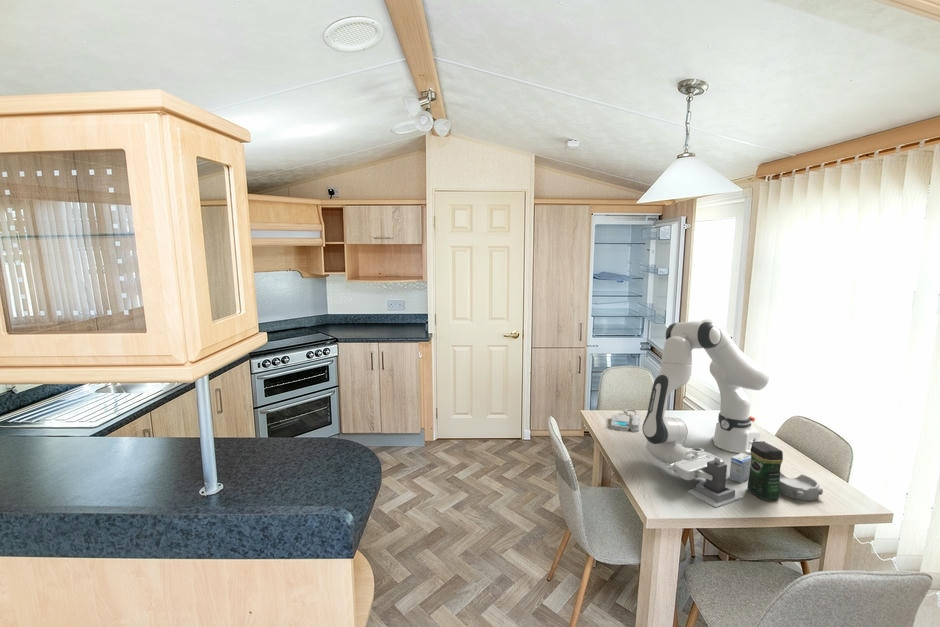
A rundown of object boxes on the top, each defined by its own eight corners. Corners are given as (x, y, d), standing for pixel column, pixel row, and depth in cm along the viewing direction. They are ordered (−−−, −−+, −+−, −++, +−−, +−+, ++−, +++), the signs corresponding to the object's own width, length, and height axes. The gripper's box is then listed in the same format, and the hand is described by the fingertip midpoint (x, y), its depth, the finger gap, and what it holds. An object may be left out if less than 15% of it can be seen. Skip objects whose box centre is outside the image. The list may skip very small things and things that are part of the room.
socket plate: (713, 483, 169) (714, 476, 168) (742, 498, 159) (743, 490, 158) (687, 492, 163) (688, 484, 162) (715, 507, 153) (716, 499, 152)
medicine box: (739, 473, 177) (741, 452, 176) (751, 477, 173) (753, 456, 172) (728, 478, 173) (730, 457, 171) (741, 483, 169) (743, 461, 168)
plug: (713, 485, 163) (716, 454, 162) (724, 491, 159) (727, 459, 158) (705, 488, 162) (707, 456, 160) (716, 494, 158) (719, 461, 156)
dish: (762, 482, 170) (764, 469, 170) (800, 482, 170) (801, 470, 169) (788, 503, 156) (790, 489, 155) (829, 503, 156) (831, 490, 155)
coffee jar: (783, 501, 157) (788, 450, 155) (762, 502, 156) (767, 451, 154) (763, 486, 167) (767, 438, 164) (743, 487, 166) (747, 439, 163)
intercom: (640, 408, 239) (639, 424, 215) (639, 415, 239) (639, 433, 216) (613, 405, 243) (610, 421, 220) (613, 412, 244) (610, 429, 221)
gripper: (665, 457, 166) (698, 474, 154) (703, 447, 175) (737, 462, 163) (664, 473, 167) (697, 491, 155) (702, 462, 176) (736, 478, 164)
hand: (718, 476), depth 159 cm, fingers closed on plug, 4 cm apart
